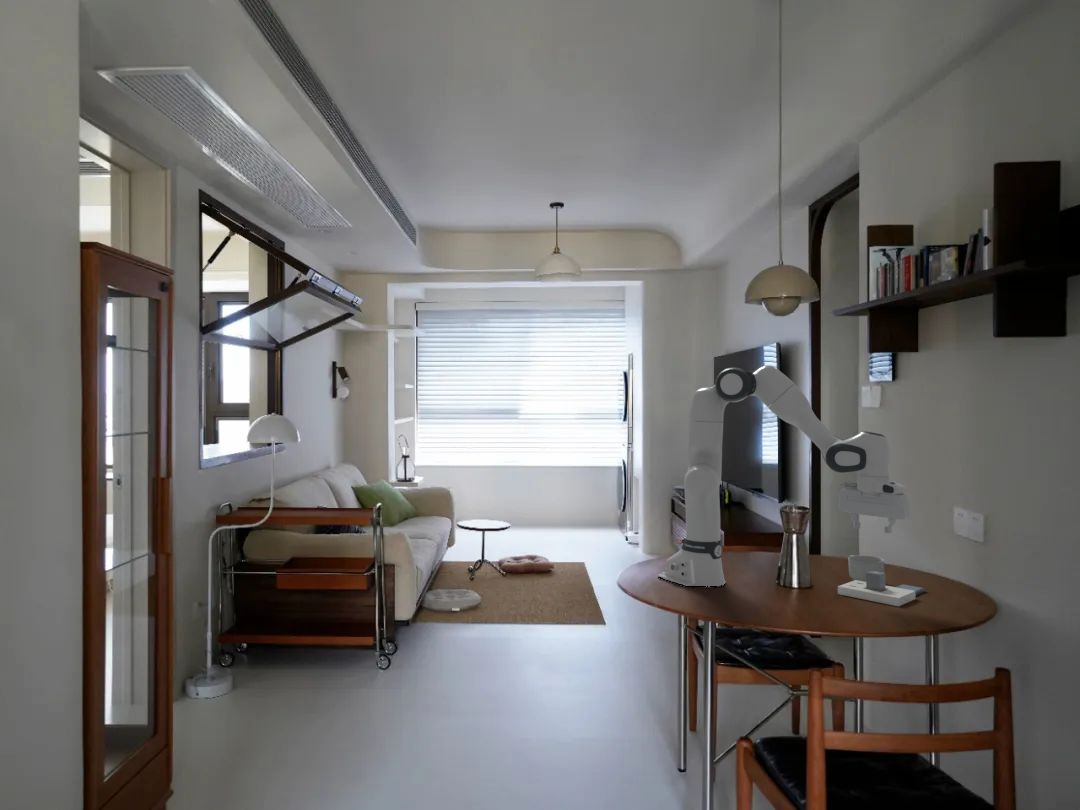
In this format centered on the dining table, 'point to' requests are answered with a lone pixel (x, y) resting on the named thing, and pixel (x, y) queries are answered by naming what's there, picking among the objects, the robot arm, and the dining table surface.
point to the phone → (912, 588)
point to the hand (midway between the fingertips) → (872, 530)
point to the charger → (875, 581)
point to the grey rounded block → (864, 566)
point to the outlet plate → (877, 593)
